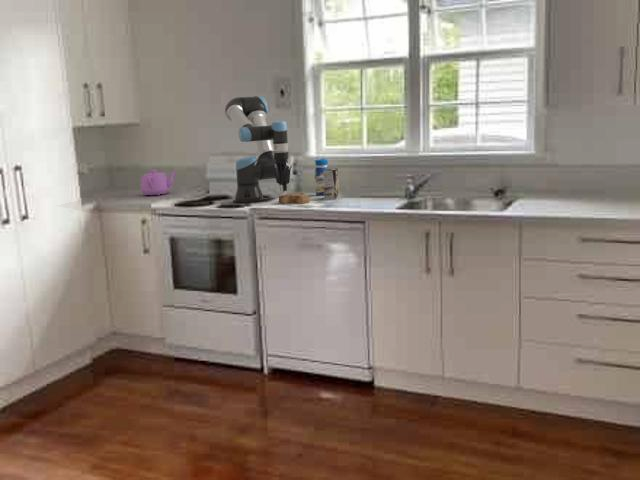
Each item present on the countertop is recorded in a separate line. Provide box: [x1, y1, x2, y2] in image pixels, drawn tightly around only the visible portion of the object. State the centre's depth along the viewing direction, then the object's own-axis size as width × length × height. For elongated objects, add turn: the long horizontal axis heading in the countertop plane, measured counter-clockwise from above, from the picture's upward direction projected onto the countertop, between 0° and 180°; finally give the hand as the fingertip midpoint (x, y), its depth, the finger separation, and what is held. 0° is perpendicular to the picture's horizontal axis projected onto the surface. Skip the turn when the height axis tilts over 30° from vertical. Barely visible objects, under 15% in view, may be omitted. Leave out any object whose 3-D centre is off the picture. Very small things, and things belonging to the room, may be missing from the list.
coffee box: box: [323, 167, 340, 201], centre depth 351 cm, size 9×6×16 cm
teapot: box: [140, 169, 178, 196], centre depth 406 cm, size 23×21×15 cm
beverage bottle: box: [314, 158, 329, 197], centre depth 365 cm, size 8×8×20 cm
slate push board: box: [275, 199, 333, 209], centre depth 341 cm, size 26×18×1 cm
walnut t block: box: [278, 191, 310, 204], centre depth 344 cm, size 14×13×4 cm
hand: (284, 197), depth 351 cm, fingers closed
